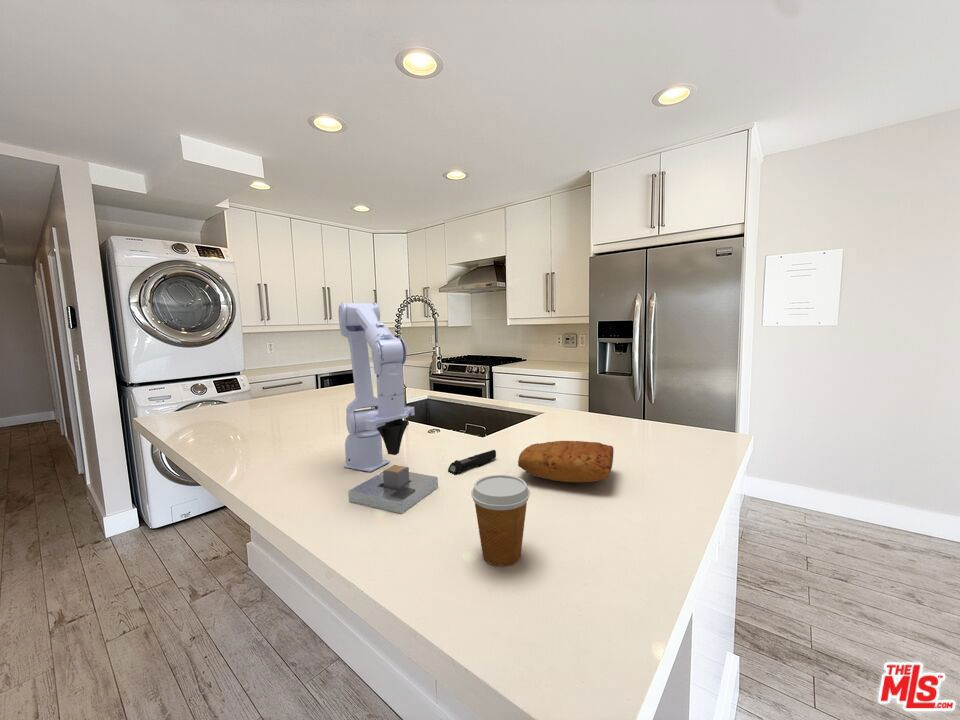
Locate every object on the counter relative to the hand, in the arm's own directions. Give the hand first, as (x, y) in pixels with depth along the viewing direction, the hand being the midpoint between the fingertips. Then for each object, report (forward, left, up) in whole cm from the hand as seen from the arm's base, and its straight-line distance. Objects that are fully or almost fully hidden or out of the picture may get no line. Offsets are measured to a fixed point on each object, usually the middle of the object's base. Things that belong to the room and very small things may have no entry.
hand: (393, 453), depth 89 cm
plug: (+1, 0, -10) cm, 10 cm away
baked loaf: (+33, +24, -10) cm, 42 cm away
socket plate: (0, 0, -9) cm, 9 cm away
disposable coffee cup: (+31, -12, -10) cm, 35 cm away
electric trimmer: (+8, +22, -10) cm, 26 cm away
